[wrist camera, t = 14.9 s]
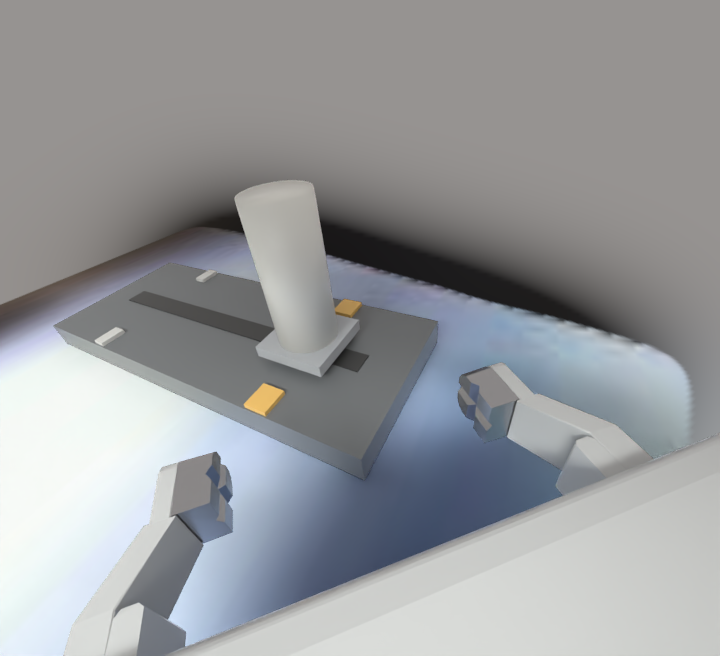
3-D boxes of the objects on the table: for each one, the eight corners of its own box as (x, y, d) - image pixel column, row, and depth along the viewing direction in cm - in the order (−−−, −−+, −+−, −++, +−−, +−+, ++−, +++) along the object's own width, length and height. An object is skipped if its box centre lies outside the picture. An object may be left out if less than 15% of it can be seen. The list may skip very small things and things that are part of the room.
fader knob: (258, 355, 23) (202, 205, 17) (302, 314, 26) (268, 175, 20) (321, 377, 21) (282, 213, 15) (360, 328, 24) (341, 179, 18)
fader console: (67, 343, 31) (50, 323, 29) (177, 278, 39) (168, 260, 37) (364, 480, 18) (360, 456, 17) (436, 342, 26) (438, 318, 25)
